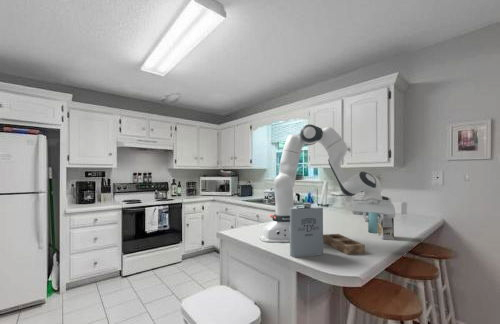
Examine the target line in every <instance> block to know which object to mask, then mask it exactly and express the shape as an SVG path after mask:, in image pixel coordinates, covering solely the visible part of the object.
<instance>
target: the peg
mask: <svg viewBox="0 0 500 324" xmlns="http://www.w3.org/2000/svg"><path fill="white" fill-rule="evenodd" d="M367 218H368V222H367V232H368V233H369V234H373V235H374V234H376V235H378V213H374V212H368V216H367Z"/></svg>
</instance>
